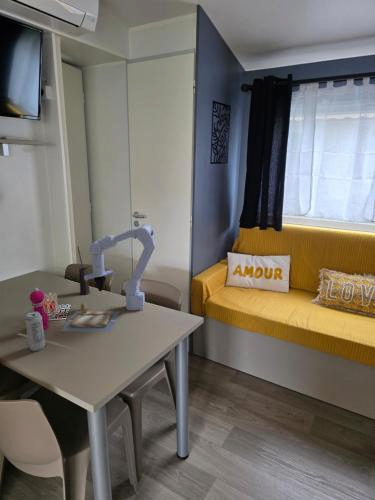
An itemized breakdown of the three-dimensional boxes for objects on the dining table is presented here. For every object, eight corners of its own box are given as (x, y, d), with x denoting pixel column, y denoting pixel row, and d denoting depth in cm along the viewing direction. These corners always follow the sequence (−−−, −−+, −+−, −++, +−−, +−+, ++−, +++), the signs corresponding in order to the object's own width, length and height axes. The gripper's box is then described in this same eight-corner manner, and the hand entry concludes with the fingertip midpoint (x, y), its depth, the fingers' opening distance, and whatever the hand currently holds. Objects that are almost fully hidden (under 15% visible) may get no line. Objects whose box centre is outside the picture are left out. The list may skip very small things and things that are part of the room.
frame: (111, 314, 163) (111, 303, 161) (106, 326, 151) (105, 314, 150) (78, 314, 163) (77, 303, 161) (70, 326, 151) (69, 314, 150)
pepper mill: (33, 334, 146) (27, 292, 141) (32, 327, 152) (26, 286, 147) (50, 331, 149) (45, 289, 144) (49, 324, 156) (44, 283, 150)
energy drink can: (40, 342, 140) (36, 309, 136) (48, 347, 137) (44, 313, 133) (26, 348, 136) (21, 314, 132) (33, 353, 132) (29, 319, 128)
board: (119, 312, 167) (119, 311, 167) (110, 333, 148) (110, 331, 147) (75, 312, 167) (75, 310, 167) (60, 332, 148) (60, 331, 148)
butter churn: (97, 289, 196) (93, 243, 188) (93, 296, 187) (89, 247, 179) (81, 289, 196) (77, 243, 188) (76, 296, 186) (72, 247, 179)
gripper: (109, 260, 174) (110, 285, 178) (81, 265, 166) (83, 290, 170) (114, 264, 168) (115, 289, 172) (85, 269, 160) (88, 295, 164)
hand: (100, 290), depth 170 cm, fingers closed
